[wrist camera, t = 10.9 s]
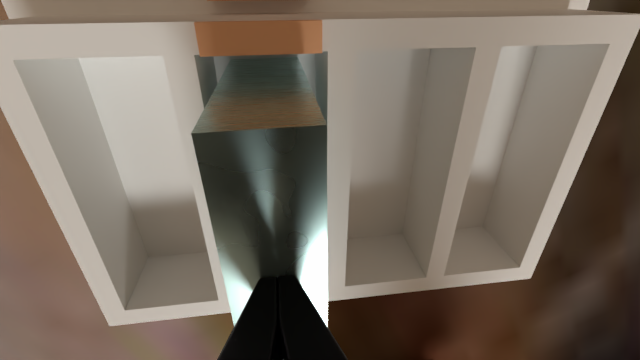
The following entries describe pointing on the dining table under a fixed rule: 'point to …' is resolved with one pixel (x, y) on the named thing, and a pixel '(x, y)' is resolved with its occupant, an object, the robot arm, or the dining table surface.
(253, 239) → the metal block
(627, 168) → the dining table surface
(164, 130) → the rack
